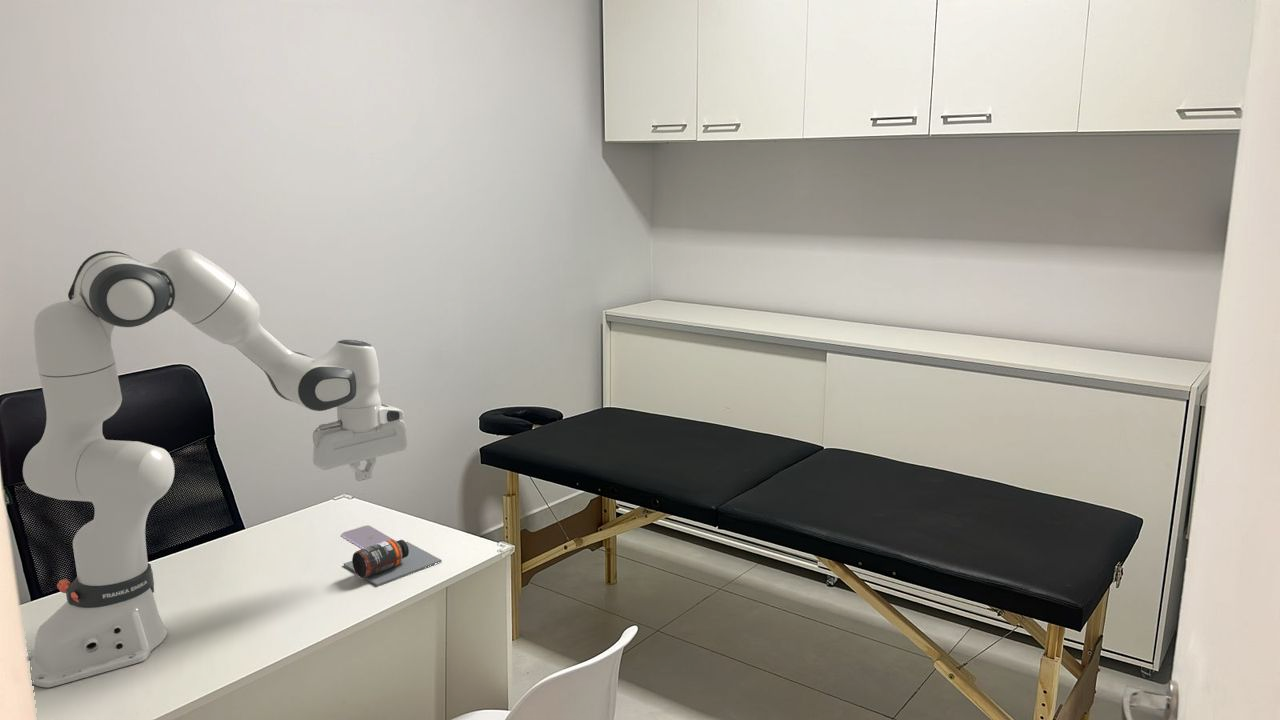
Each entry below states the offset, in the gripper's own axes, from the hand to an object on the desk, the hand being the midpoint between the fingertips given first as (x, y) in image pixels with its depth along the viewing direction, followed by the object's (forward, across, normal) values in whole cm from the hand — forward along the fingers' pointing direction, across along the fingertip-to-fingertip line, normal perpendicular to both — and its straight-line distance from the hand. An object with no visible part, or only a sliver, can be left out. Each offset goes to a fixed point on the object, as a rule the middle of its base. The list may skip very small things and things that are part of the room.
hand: (363, 479), depth 187 cm
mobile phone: (+22, +9, +15) cm, 28 cm away
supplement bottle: (+18, -4, -2) cm, 18 cm away
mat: (+21, +6, 0) cm, 22 cm away
